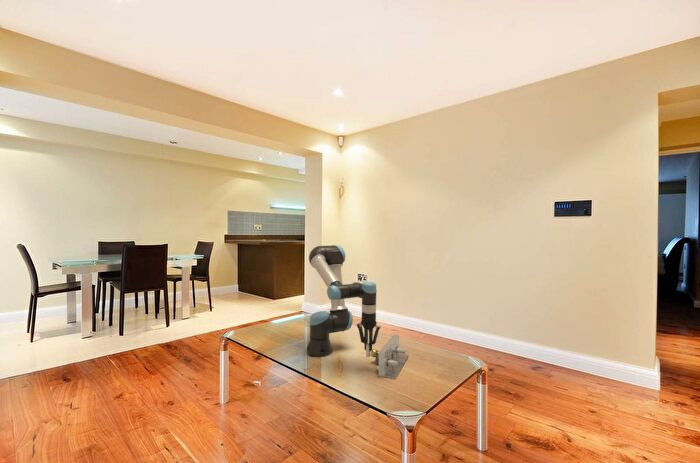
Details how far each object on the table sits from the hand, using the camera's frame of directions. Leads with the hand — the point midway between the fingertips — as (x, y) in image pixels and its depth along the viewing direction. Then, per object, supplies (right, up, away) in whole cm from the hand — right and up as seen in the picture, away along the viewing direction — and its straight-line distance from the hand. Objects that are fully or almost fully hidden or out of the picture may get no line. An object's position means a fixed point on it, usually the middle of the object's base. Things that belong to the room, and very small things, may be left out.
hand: (368, 356), depth 166 cm
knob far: (+16, -4, +12) cm, 21 cm away
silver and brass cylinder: (+7, -3, +6) cm, 10 cm away
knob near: (+9, -4, -4) cm, 11 cm away
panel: (+14, -6, +3) cm, 16 cm away
